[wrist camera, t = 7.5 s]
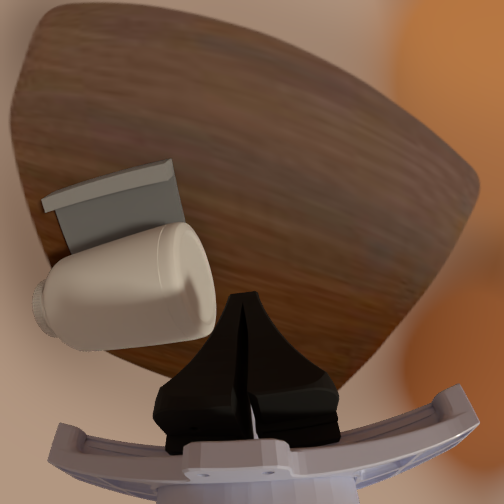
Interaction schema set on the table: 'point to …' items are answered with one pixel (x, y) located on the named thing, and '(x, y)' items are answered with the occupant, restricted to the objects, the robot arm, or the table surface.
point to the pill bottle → (130, 292)
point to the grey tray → (116, 205)
